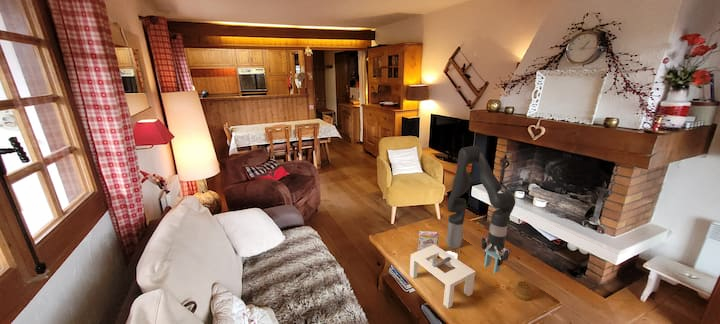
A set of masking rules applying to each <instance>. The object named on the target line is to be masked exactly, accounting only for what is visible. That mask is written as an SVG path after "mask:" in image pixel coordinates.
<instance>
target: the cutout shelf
mask: <svg viewBox="0 0 720 324" xmlns="http://www.w3.org/2000/svg"><path fill="white" fill-rule="evenodd" d="M438 257H440V258H441V260H438ZM409 261H410V264H409V277H411V278H412V279H415V278H418V270H419V265H420V266H421V267H422V268H424V269H425V270H427V272H429V273H430V274H432V275H433V276H434V277H435V278H436V279H438V280H439V282H441V283H443V284H444V292H443V303H442V304H443V306H444V307H445V308H447V309H449V308H451V307H453V303H454V302H453V301H454V295H455V293H454V292H455V286H457V285H459V284H461V283H463V282H464V286H463V288H464V289H463V294H464V295H466V296H467V297H470V296H471V295H473V293H474V292H473V291H474V285H475V276H476V271H475V270H474V269H473V268H471V267H469V266H468V265H467V264H465V263H463V261H460V260H459V259H458V258H455V257H454V256H453V255H451V254H450V253H448V252H446V250H444V249H442V248H441V247H440V246H438V245H437V246H436V245H435V244H434V245H432V246H429V247H427V248H425V249H422V250H420V251H418V250H417V251H415V252H413V253H410V260H409ZM447 263H448V264H450V265H451V266H453V267H454V268H453V269H451V270H449V271H447V272H444V271H443V270H441V269H440V268H439V267H440V266H442V265H444V264H447Z"/></svg>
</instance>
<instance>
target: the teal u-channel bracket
mask: <svg viewBox="0 0 720 324" xmlns="http://www.w3.org/2000/svg"><path fill="white" fill-rule="evenodd" d="M492 258H493V259H495V260H494V267H493V273H494V274H496V273H498V272H500V271H501V266H502V265H500V266H498V259H499V257H498V255H497V253H496V252H495V251H494V250H492V249H490V250H488V251H486V256H485V255H484V263H483V267H484V268H487V267H489V266H491V265H492V264H491V263H492Z"/></svg>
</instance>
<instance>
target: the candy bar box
mask: <svg viewBox="0 0 720 324" xmlns="http://www.w3.org/2000/svg"><path fill="white" fill-rule="evenodd" d="M438 233H439V232H438V231H429V230H428V231H426V230H425V231H424V230H419V232H418V242H417V243H418V244H417V251H420V250H422V249H425V248H427V247H429V246H432V245H434V244H435V245H436V246H438V244H439V234H438Z"/></svg>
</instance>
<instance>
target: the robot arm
mask: <svg viewBox="0 0 720 324" xmlns="http://www.w3.org/2000/svg"><path fill="white" fill-rule="evenodd" d="M457 157H458V158H457V166H456V170H455V175H454V179H453V183H452V189H451V192H450V195H449V198H448V201H447V211H448V212H450V213H452V214H451V215H449V217H448V223H447V231H446V232H447V233H446V243H445V244H446V246H447V247H450V248H452V249H459V248H461V246H462V245H463V237H464V231H463V230H464V229H463V228H464V222H465V215H466V209H467V201H466V199H465V198H464V197H463V198H461V196H462V195H464V194H465V193H467V192H468V190H469V188H470V187H471V186H470V185H471V184H472V177H471V175H470V173H469V172H468V170H467V167H468V165H471V164H478V166H479V167H480V171H479V180H480V183H481V184H482V186H483V187H484V189H485V190H486V192H487V196H488V200H489V204H490V205H491V206H492V207H493V208H495V210H494V211H493V212H492V213H491V220H490V224H489V229H488V235H487V236H484V237H482V238H481V249H482V250H484V257H485V256H486V251H488V250H490V249H492V250H494V251H495V252H496V253H497V255H498V257H499V259H498V266H500V265H501V266H502V265H503V264H504V262H505V261H506V260H508V258H509V256H510V253H511V249H510V248H506V247H505V243H506V238H507V234H508V233H507V232H508V223H509V217H511V214H512V212H513V211H514V208H515V205H516V198H515V195H514V194H512V192H509V191H508V192H500V191H501V190H502V187H503V186H502V184H501V183H500V181H499V179H498V178H497V177H496V176H495V174H494V172H493V170H492V168H491V166H490V165H489V162H488V159H487V158H486V155H485V154H484V152H483V150H482V149H481V147H480V146H478V145H470V146H466V147H465V146H464V147H462V148H460V150H459V152H458V156H457Z"/></svg>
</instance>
